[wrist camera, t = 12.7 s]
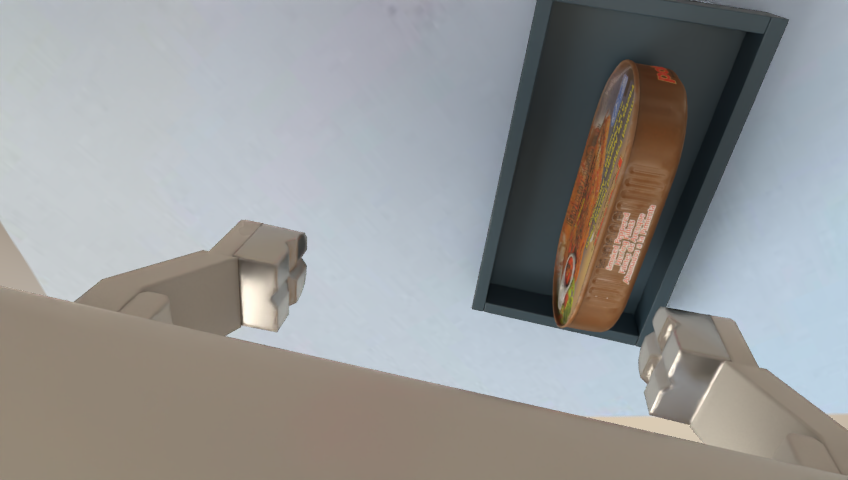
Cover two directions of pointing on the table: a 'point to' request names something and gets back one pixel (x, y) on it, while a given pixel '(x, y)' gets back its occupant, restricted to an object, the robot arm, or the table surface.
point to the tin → (618, 194)
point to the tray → (570, 125)
